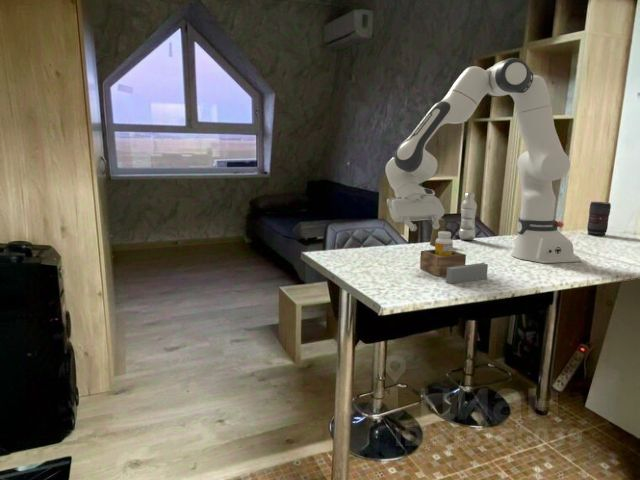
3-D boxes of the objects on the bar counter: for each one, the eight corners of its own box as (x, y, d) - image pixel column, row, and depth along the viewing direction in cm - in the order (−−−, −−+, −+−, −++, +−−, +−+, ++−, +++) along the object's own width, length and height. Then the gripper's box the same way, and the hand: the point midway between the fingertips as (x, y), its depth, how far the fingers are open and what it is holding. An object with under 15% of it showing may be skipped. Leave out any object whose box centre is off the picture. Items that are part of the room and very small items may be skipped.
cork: (445, 246, 187) (446, 219, 185) (429, 246, 188) (431, 219, 186) (444, 243, 193) (446, 217, 191) (429, 243, 194) (430, 216, 192)
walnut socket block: (419, 268, 154) (420, 250, 153) (444, 265, 158) (445, 248, 157) (439, 276, 145) (440, 257, 144) (464, 272, 149) (466, 254, 148)
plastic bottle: (472, 242, 196) (476, 194, 192) (456, 240, 199) (459, 193, 195) (476, 239, 201) (480, 193, 197) (460, 237, 205) (463, 192, 201)
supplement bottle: (432, 259, 153) (433, 230, 151) (447, 259, 154) (449, 230, 152) (437, 264, 148) (439, 234, 146) (454, 263, 148) (456, 233, 146)
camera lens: (608, 237, 208) (613, 203, 205) (587, 236, 210) (592, 202, 207) (604, 234, 215) (609, 201, 212) (584, 232, 218) (588, 200, 215)
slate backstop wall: (446, 282, 139) (446, 267, 138) (481, 276, 145) (483, 262, 144) (450, 284, 138) (451, 269, 137) (486, 278, 143) (487, 264, 142)
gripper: (388, 192, 157) (404, 225, 150) (437, 190, 166) (454, 221, 159) (381, 203, 162) (396, 236, 155) (428, 201, 170) (444, 232, 164)
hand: (425, 229), depth 157 cm, fingers open, 8 cm apart
